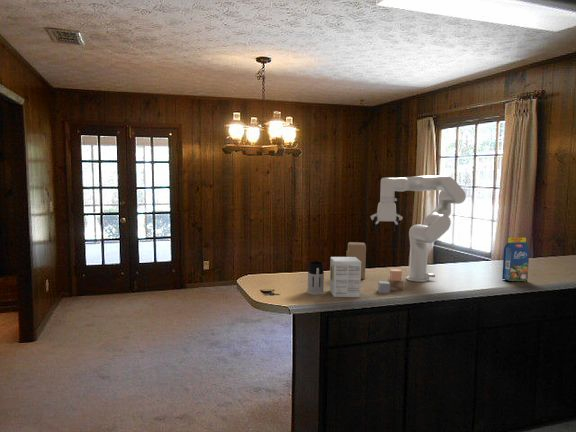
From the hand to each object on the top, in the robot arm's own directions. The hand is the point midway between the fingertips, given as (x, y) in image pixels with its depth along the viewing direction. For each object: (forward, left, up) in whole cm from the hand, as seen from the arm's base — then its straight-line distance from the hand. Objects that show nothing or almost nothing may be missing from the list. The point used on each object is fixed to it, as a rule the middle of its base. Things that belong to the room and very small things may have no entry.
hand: (386, 231), depth 246 cm
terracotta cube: (-4, +14, -24) cm, 28 cm away
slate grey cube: (+3, +22, -28) cm, 36 cm away
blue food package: (-76, -16, -28) cm, 83 cm away
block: (+15, -10, -28) cm, 34 cm away
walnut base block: (-4, +14, -28) cm, 32 cm away
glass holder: (+37, +31, -28) cm, 56 cm away
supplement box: (+23, +29, -28) cm, 47 cm away
